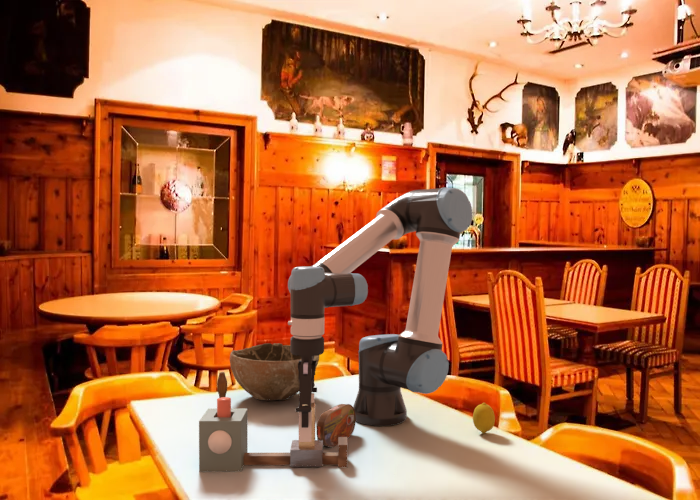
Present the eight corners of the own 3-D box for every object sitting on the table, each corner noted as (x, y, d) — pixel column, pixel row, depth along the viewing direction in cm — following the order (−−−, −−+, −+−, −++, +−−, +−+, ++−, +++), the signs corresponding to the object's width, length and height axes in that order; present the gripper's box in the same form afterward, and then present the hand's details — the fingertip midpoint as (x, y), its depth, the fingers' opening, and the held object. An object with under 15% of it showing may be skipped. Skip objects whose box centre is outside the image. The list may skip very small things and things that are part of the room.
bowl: (329, 390, 193) (329, 344, 192) (305, 415, 166) (305, 362, 166) (250, 384, 199) (250, 340, 198) (215, 407, 173) (214, 357, 172)
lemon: (496, 431, 153) (496, 401, 153) (492, 438, 148) (492, 407, 148) (475, 428, 155) (475, 398, 155) (470, 435, 150) (470, 404, 150)
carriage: (322, 456, 135) (323, 401, 135) (322, 467, 129) (322, 409, 129) (292, 456, 135) (292, 401, 134) (290, 467, 129) (290, 409, 128)
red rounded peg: (232, 432, 133) (232, 397, 133) (229, 436, 130) (229, 400, 130) (218, 432, 133) (218, 397, 133) (215, 436, 130) (215, 400, 130)
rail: (346, 458, 135) (347, 437, 134) (347, 467, 130) (347, 444, 129) (246, 458, 134) (246, 437, 134) (242, 467, 129) (242, 445, 129)
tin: (324, 452, 139) (325, 416, 139) (313, 449, 140) (313, 414, 140) (356, 433, 152) (357, 401, 151) (346, 431, 153) (346, 399, 153)
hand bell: (231, 441, 146) (231, 377, 145) (200, 438, 147) (200, 375, 147) (244, 430, 154) (244, 369, 153) (214, 427, 155) (214, 367, 155)
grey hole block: (247, 455, 136) (247, 408, 136) (240, 472, 127) (240, 421, 126) (208, 455, 136) (208, 408, 136) (198, 472, 127) (198, 421, 126)
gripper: (294, 326, 143) (294, 413, 144) (285, 346, 119) (284, 451, 119) (325, 327, 144) (324, 413, 144) (322, 346, 119) (322, 451, 119)
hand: (306, 430), depth 132 cm, fingers open, 13 cm apart
